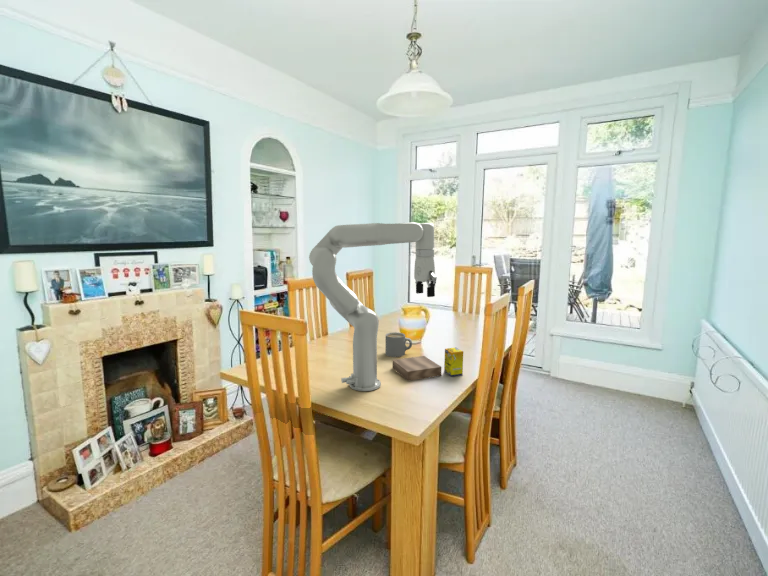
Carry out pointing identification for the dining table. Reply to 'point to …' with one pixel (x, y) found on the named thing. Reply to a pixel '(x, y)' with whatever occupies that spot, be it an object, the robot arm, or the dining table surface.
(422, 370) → the walnut base
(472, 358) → the dining table surface
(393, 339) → the coffee mug
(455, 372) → the supplement box
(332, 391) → the dining table surface
